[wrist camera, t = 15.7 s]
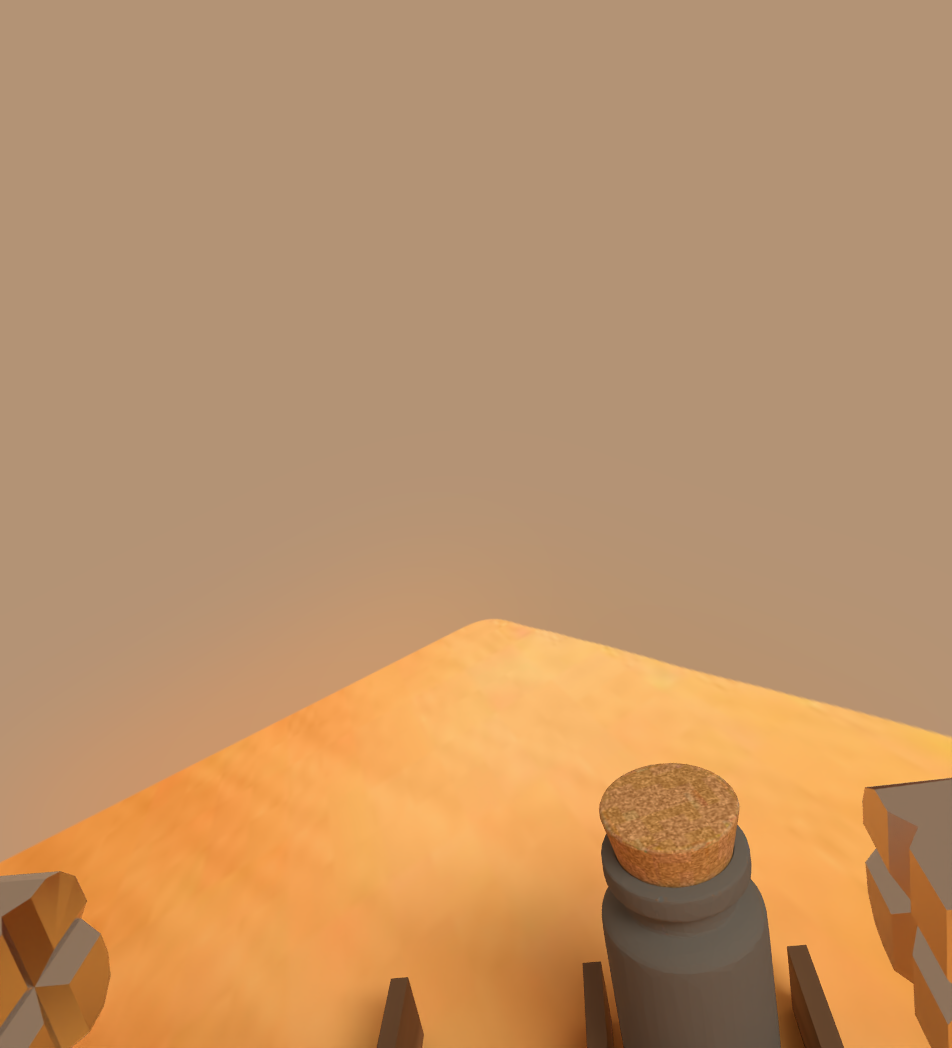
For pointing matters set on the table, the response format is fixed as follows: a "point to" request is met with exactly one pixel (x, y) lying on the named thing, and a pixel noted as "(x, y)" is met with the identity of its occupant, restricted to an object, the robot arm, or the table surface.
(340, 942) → the table surface
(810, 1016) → the notched rack
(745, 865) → the bottle
